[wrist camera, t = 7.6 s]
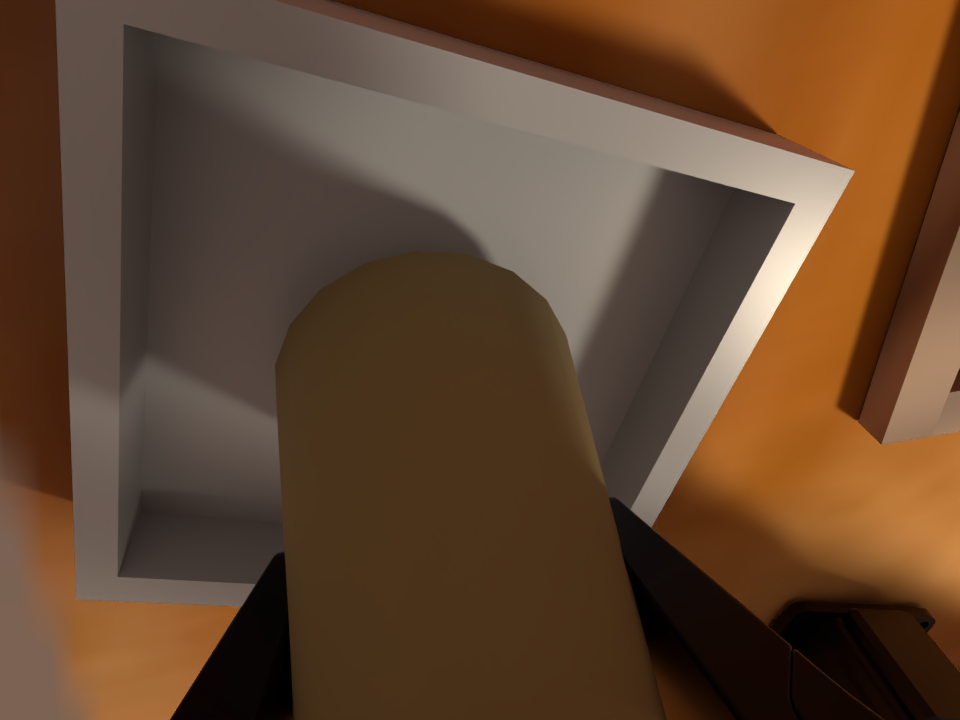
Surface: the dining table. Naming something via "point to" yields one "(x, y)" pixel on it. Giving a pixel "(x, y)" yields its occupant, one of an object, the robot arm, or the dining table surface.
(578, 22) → the dining table surface
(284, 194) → the tray
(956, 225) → the ladder
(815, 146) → the dining table surface
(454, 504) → the cork
